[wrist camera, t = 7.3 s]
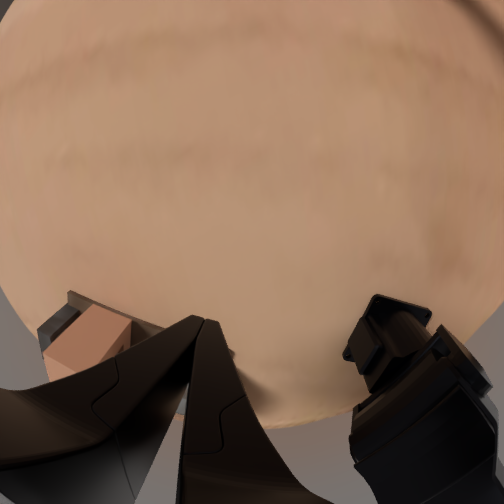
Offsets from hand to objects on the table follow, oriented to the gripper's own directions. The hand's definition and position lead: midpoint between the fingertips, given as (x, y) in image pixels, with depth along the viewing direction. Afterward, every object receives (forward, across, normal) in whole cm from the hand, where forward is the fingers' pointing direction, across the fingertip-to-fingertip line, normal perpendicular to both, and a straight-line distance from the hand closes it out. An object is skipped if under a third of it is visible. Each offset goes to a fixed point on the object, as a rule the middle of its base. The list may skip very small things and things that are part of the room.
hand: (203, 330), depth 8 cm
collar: (+12, +10, +13) cm, 20 cm away
